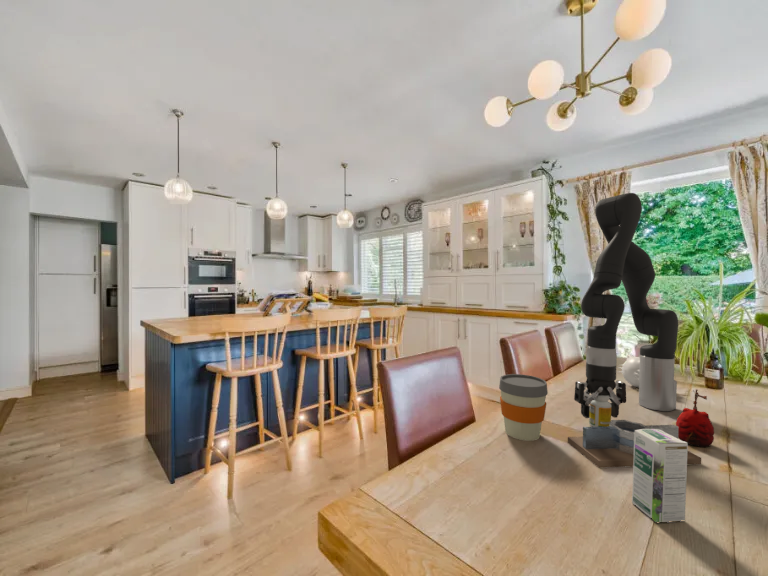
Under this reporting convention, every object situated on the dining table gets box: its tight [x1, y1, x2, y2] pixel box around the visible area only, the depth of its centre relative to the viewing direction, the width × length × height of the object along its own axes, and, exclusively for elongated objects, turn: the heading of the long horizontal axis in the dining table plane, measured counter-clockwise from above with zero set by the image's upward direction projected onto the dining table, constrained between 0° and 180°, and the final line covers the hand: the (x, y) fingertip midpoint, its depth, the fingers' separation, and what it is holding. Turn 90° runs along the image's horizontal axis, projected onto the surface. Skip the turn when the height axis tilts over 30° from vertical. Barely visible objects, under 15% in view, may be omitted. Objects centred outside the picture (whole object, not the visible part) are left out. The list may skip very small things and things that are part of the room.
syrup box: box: [631, 429, 689, 523], centre depth 63 cm, size 6×6×14 cm
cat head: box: [616, 353, 640, 389], centre depth 136 cm, size 15×13×12 cm
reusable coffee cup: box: [499, 373, 549, 442], centre depth 95 cm, size 13×12×15 cm
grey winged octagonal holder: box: [582, 419, 679, 455], centre depth 85 cm, size 24×8×5 cm, turn 94°
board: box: [567, 435, 702, 468], centre depth 85 cm, size 25×12×2 cm, turn 94°
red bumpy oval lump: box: [675, 389, 715, 448], centre depth 90 cm, size 8×7×15 cm
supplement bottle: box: [588, 395, 612, 427], centre depth 100 cm, size 5×5×10 cm
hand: (599, 416), depth 100 cm, fingers open, 8 cm apart
